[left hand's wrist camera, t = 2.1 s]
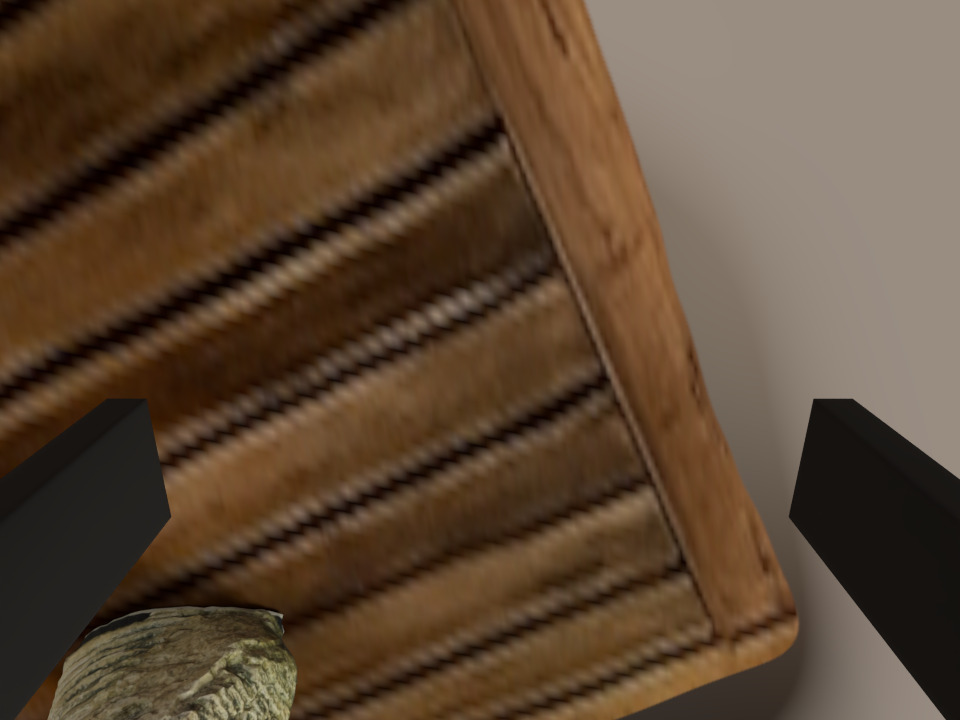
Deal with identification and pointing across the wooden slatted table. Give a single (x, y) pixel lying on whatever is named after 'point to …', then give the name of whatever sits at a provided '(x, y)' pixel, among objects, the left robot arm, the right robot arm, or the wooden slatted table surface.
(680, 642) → the wooden slatted table surface
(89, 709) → the fossil
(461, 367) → the wooden slatted table surface
